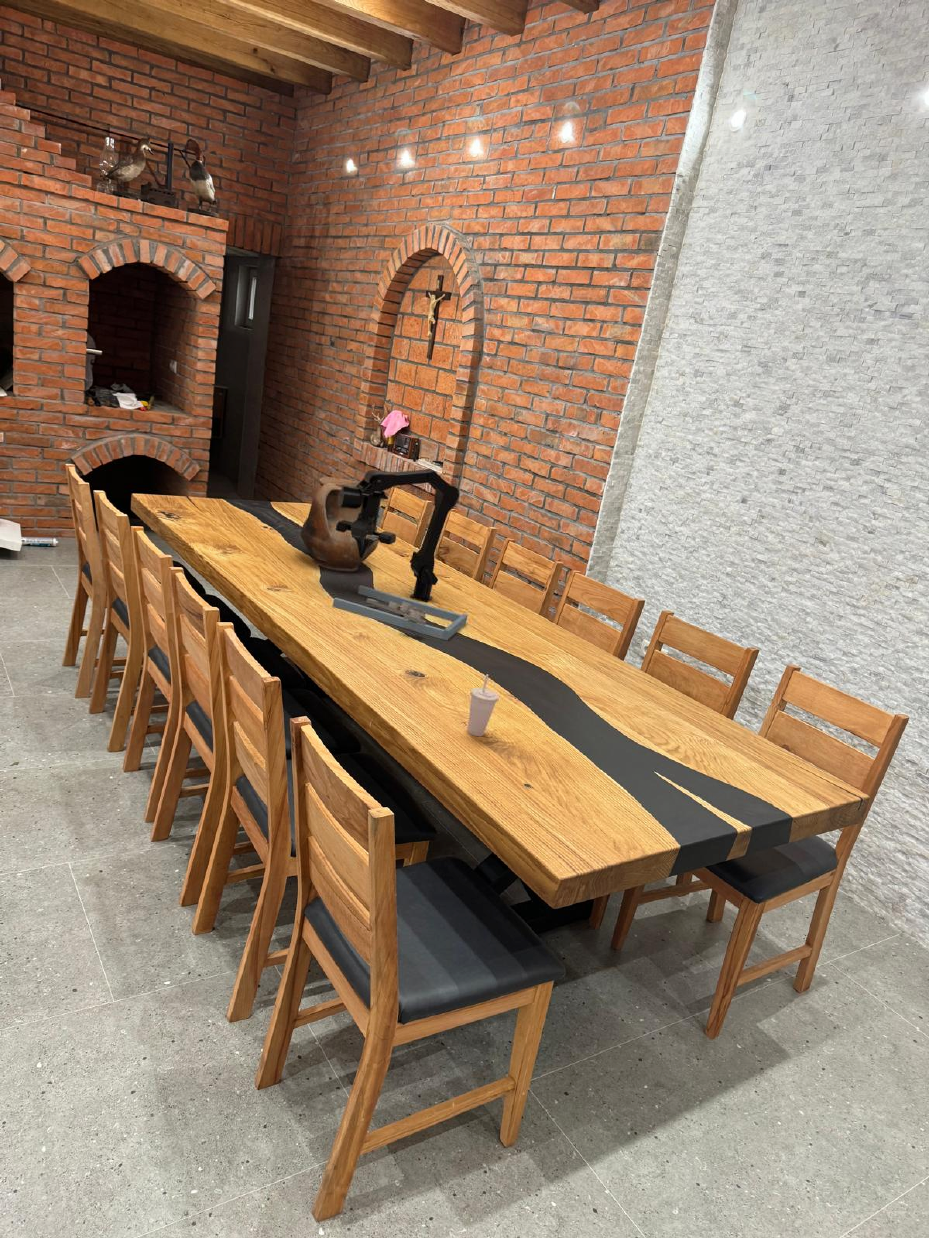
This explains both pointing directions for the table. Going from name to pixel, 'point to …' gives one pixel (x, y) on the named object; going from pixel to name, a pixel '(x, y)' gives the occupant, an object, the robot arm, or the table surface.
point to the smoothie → (481, 709)
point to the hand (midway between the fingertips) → (361, 558)
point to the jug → (332, 529)
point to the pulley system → (411, 614)
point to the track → (400, 621)
